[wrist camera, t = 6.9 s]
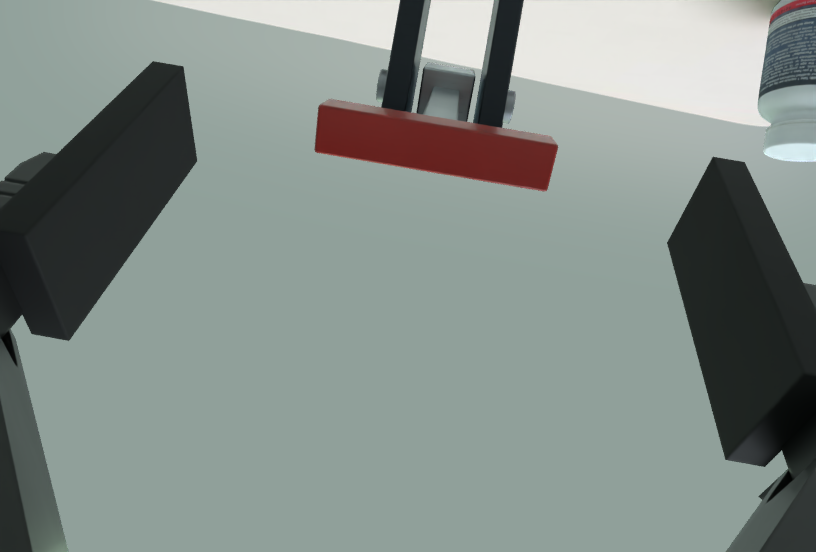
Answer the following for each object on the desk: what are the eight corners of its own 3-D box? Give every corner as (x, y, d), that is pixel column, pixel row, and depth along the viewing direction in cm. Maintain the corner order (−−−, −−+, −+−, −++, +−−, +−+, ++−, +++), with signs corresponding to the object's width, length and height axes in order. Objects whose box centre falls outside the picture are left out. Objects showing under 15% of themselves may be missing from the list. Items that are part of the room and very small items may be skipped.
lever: (319, 83, 16) (311, 171, 17) (564, 124, 16) (542, 211, 17) (381, 54, 28) (374, 107, 29) (521, 77, 28) (509, 130, 29)
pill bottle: (753, 17, 39) (731, 155, 39) (810, -26, 34) (785, 134, 33) (834, 32, 39) (813, 169, 39) (903, -8, 34) (879, 151, 33)
